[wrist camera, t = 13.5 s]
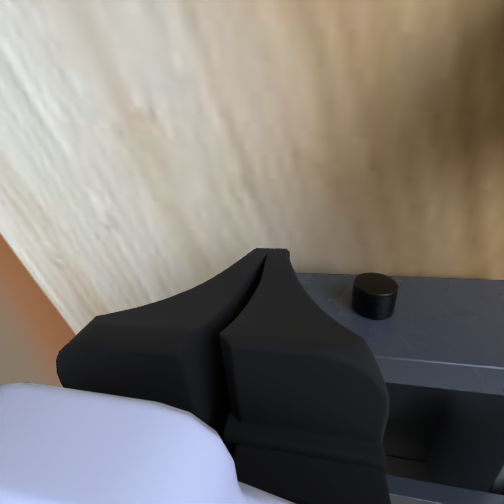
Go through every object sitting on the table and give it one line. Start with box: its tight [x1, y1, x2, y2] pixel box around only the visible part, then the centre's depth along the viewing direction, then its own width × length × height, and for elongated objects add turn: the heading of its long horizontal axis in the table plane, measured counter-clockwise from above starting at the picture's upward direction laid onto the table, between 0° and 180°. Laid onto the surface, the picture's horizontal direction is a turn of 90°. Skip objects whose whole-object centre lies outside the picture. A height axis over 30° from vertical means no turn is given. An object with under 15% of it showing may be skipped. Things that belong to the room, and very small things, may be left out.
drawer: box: [295, 273, 504, 495], centre depth 14 cm, size 15×12×5 cm
